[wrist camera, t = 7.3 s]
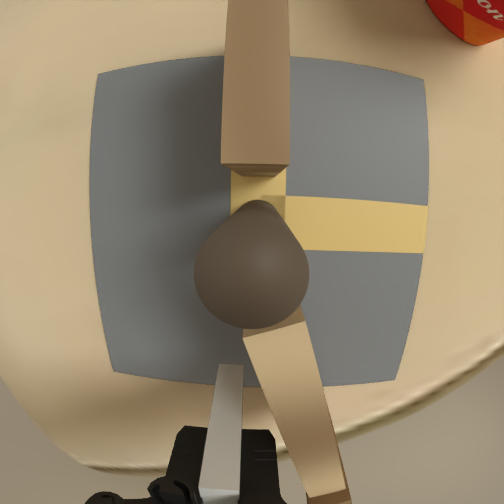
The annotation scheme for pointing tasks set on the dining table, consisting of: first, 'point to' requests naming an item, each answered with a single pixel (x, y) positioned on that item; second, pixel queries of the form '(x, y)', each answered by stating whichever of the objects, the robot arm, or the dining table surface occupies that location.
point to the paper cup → (471, 19)
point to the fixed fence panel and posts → (254, 165)
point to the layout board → (258, 188)
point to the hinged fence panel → (299, 405)
